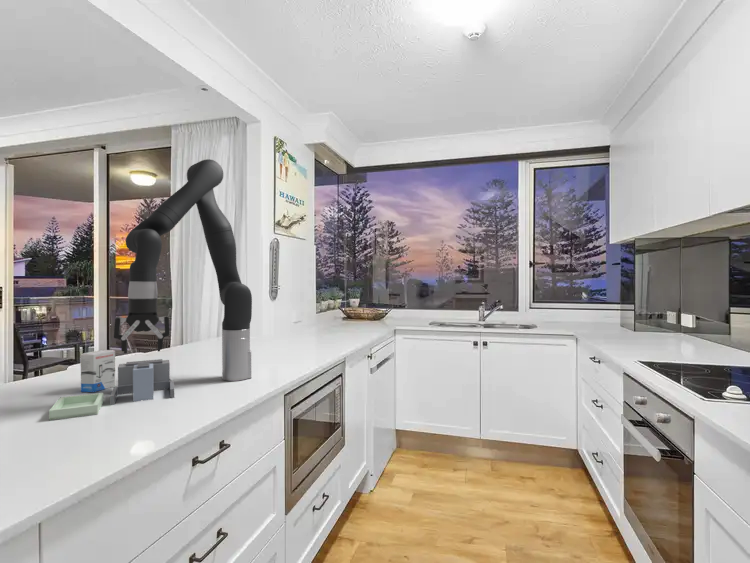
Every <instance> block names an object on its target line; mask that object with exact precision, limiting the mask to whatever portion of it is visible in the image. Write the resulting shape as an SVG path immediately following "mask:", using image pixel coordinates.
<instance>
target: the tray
mask: <svg viewBox="0 0 750 563" xmlns="http://www.w3.org/2000/svg"><path fill="white" fill-rule="evenodd" d="M104 396H105V395H104V392H98V393H97V392H95V393H88V394H79V395H71V396H69V395H68V396H61V397H59V398H58V400H56V401H55V403H54V404H53V406H52V407H50V409H49V410H48V420H49V421H55V420H62V419H63V420H64V419H72V418H79V417H87V416H95V415H98V414H99V412H100V410H101V409H102V408H101V407H102V406H103V403H104V401H105V400H104V399H105V398H104Z"/></svg>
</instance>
